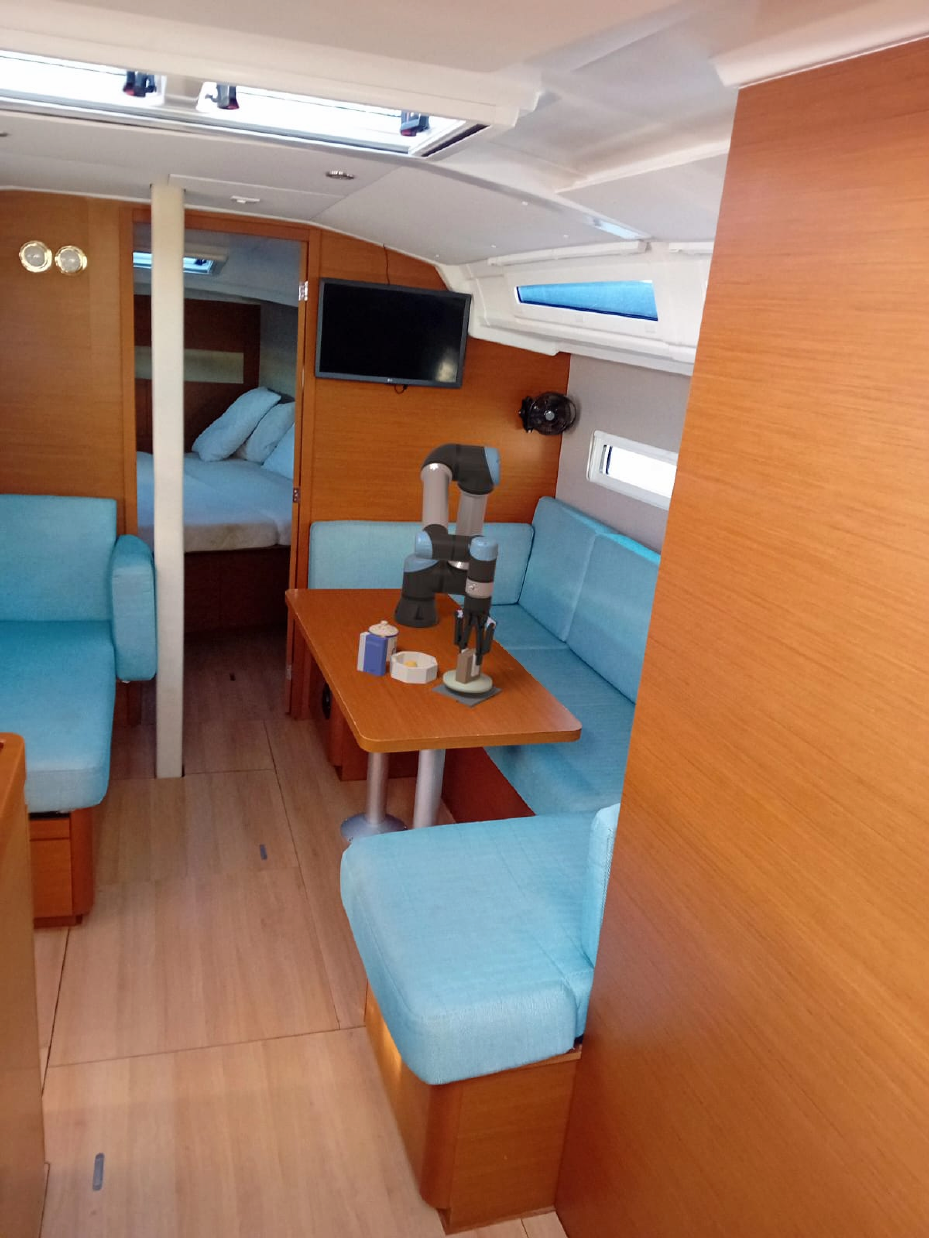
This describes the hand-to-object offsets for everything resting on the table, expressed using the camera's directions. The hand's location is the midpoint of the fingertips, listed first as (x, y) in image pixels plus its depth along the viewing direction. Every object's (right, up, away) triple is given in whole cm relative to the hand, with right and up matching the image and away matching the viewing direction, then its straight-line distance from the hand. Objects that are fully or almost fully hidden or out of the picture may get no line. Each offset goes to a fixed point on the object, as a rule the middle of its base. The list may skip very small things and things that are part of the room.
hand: (468, 672), depth 263 cm
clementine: (-17, -1, +8) cm, 19 cm away
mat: (-1, -5, +2) cm, 6 cm away
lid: (0, -3, +1) cm, 3 cm away
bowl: (-16, -1, +8) cm, 18 cm away
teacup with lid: (-27, +4, +20) cm, 34 cm away
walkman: (-28, -1, +6) cm, 29 cm away
